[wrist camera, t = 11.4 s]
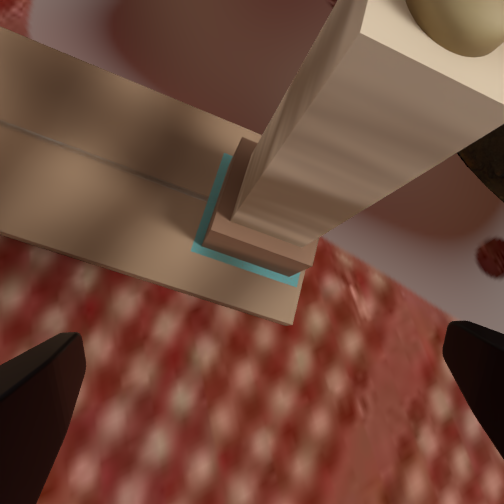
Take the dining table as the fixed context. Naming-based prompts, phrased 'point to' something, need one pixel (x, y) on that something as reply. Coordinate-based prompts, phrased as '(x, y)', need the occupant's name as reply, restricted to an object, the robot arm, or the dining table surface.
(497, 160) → the hand tool
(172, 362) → the dining table surface
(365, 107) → the knob-topped square post
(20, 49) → the board with turquoise patch
